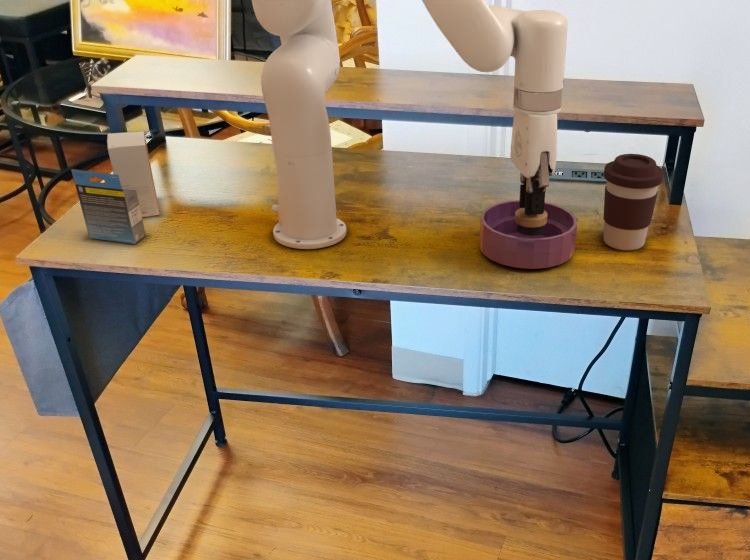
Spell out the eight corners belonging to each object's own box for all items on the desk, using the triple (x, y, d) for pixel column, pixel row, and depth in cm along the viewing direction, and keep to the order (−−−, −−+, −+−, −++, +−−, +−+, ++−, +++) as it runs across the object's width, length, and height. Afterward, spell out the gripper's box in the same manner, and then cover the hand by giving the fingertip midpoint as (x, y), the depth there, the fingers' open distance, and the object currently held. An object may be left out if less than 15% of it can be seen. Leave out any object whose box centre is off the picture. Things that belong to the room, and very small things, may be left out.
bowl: (460, 251, 143) (460, 218, 139) (519, 223, 153) (522, 192, 149) (534, 282, 134) (536, 248, 131) (592, 251, 144) (596, 219, 141)
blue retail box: (147, 235, 144) (132, 166, 137) (135, 245, 141) (119, 175, 133) (100, 229, 145) (83, 160, 138) (87, 238, 142) (69, 168, 135)
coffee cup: (614, 226, 153) (625, 145, 144) (662, 242, 148) (676, 159, 139) (584, 243, 147) (594, 160, 138) (633, 260, 142) (646, 175, 133)
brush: (507, 230, 141) (510, 167, 135) (527, 220, 144) (531, 158, 138) (532, 239, 138) (536, 175, 132) (552, 229, 141) (557, 166, 135)
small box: (160, 215, 151) (146, 144, 143) (122, 219, 149) (106, 148, 141) (158, 199, 157) (144, 130, 149) (122, 202, 155) (106, 133, 147)
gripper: (500, 85, 134) (496, 194, 145) (530, 115, 121) (523, 232, 132) (544, 83, 136) (538, 190, 146) (578, 112, 123) (568, 228, 134)
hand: (531, 209), depth 139 cm, fingers closed on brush
